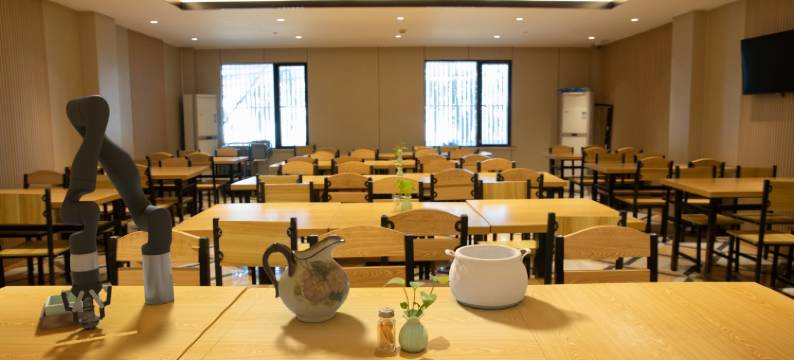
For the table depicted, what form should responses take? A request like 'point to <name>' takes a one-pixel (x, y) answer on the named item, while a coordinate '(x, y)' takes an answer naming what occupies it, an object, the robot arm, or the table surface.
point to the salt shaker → (89, 315)
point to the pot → (488, 276)
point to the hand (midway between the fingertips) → (89, 320)
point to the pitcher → (310, 280)
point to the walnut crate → (57, 320)
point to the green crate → (59, 305)
